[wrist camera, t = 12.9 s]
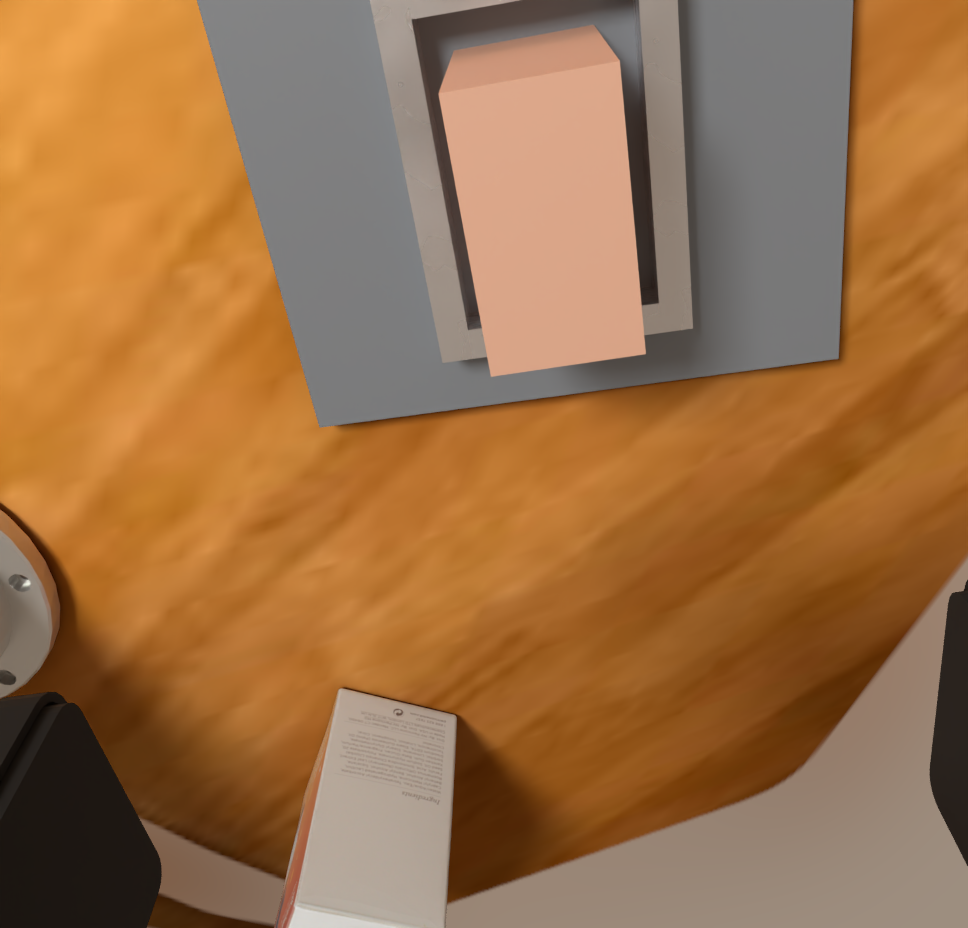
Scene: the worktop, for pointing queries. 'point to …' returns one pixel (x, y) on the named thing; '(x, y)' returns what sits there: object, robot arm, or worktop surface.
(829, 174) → the nest board
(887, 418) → the worktop surface
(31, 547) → the robot arm
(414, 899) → the small box
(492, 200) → the key block
